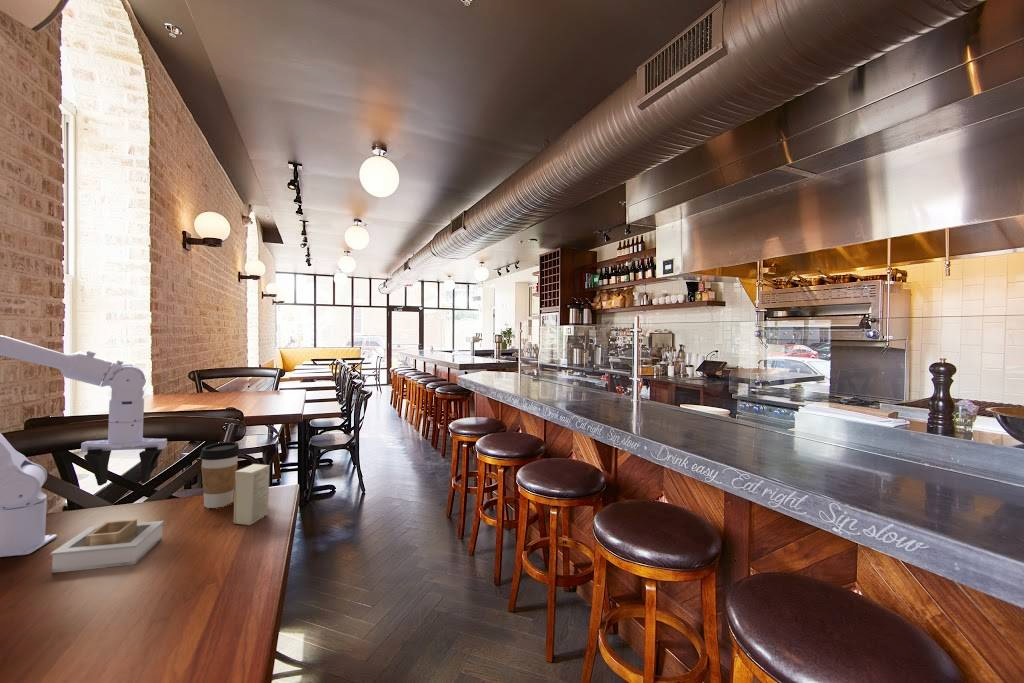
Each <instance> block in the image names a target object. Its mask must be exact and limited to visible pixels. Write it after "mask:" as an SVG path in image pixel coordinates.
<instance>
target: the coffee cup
mask: <svg viewBox="0 0 1024 683" xmlns="http://www.w3.org/2000/svg"><path fill="white" fill-rule="evenodd" d="M240 451H241V450H240V447H239V442H237V441H223V442H222V441H221V442H217V443H214V444H210V445H206V446H204V447H202V448H201V453H200V455H199V456H200V457H199V459H201V468H200V469H201V478H202V480H201V481H202V491H203V505H204V506H205V507H207V508H206V509H209V508H216V509H218V508H217V507H221V506H225V505H227V504H229V503H231V502H232V503H233V500H234V494H235V471H237V470H238V465H239V464H238V463H239V462H238V456H239V455H241V452H240ZM205 507H204V508H205Z"/></svg>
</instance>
